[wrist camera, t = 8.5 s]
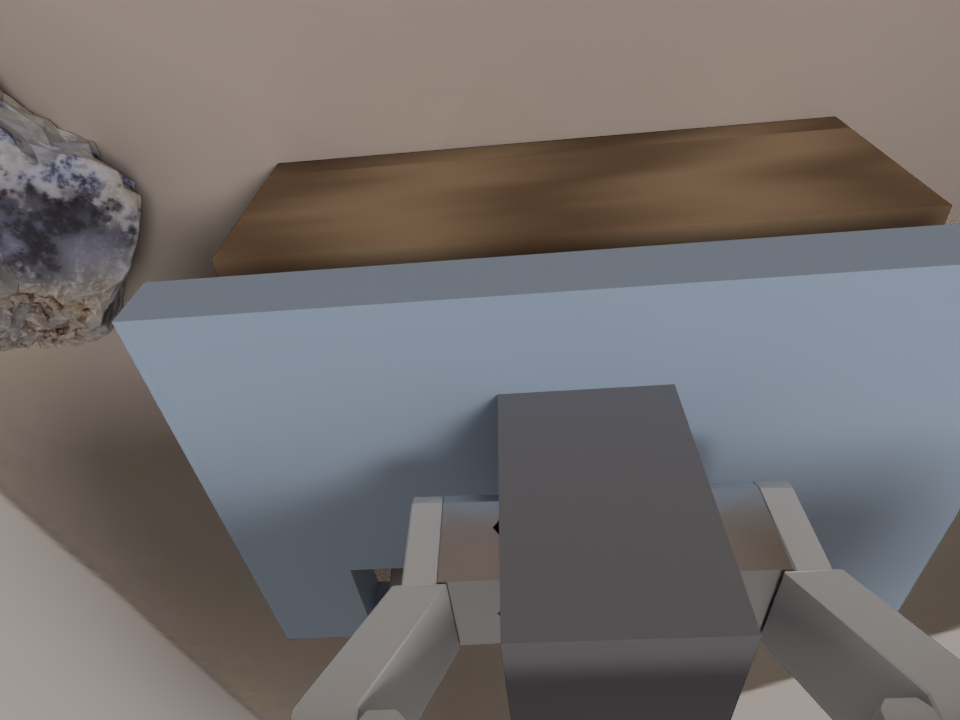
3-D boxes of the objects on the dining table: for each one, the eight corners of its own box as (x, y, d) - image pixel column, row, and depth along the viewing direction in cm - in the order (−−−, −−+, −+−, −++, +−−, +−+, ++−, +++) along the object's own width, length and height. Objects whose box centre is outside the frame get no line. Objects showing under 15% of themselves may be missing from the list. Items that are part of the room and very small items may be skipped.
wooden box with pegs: (835, 116, 15) (1095, 314, 9) (764, 391, 21) (891, 638, 14) (277, 163, 16) (131, 373, 10) (352, 414, 22) (292, 656, 15)
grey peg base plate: (1056, 216, 10) (1499, 498, 6) (869, 575, 16) (1010, 841, 12) (144, 282, 11) (-88, 566, 7) (298, 596, 17) (232, 849, 13)
